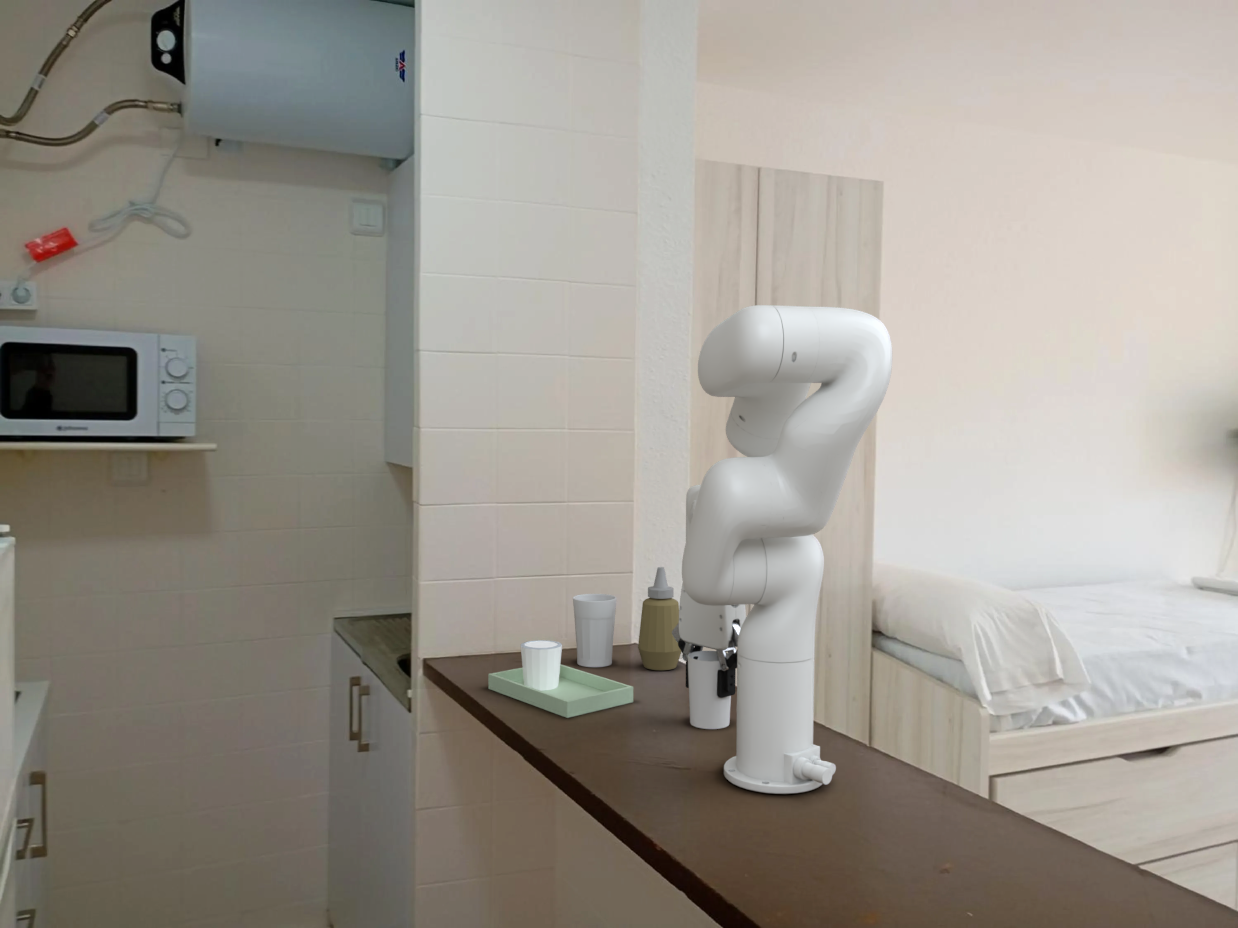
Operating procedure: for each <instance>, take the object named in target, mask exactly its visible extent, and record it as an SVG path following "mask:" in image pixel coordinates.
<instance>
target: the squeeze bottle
mask: <svg viewBox="0 0 1238 928" xmlns="http://www.w3.org/2000/svg"><path fill="white" fill-rule="evenodd" d="M674 590H675V589H674V587H672V586H669V585H668V579H667V576H666V569H665V567H664V566H658V567H657V568H656V574H655V579H654V582H653V585H652V586H648V587H647V597H648V598H645V599H644V600H643V601H642V605H641V606H642V607H641V617H640V623H639V624H640V626H639V635H638V645H637V649H638V653H639V655H640V659H641V662H642V666H643V667H644V668H645V669H648V670H652V671H669V670H673V669H676V668H677V666H678V663H679V660H680V658H681V656H682V655H681V654H682V651H681V650H680V648H679V646H678V643H677V641H676V640H675V638H674V637H673V635H672V631H673V629H674V628H675V627H676V625H677V624H678V623H679V605H680V602H679V601H678V600H677V599H675V598H674V594H675V593H674Z"/></svg>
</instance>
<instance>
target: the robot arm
mask: <svg viewBox="0 0 1238 928" xmlns="http://www.w3.org/2000/svg"><path fill="white" fill-rule="evenodd" d="M892 370H893V344H892V340H891V335H890V332H889V330H888V329H887V327H886V325H885V323H884V322H882V321H881V319H879V318H878V317H876V316H874V315H873V314H870V313H869V312H866V311H862V310H860V309H859V310H858V309H853V308H847V307H840V306H839V307H837V306H809V305H808V306H807V305H806V306H803V305H802V306H801V305H771V304H756V305H749V306H746V307H742V308H741V309H739V310H737V311H736V312H734V313H733V314H731V315H730V316H728V317H727V318H726V319H724V320H723V321H722V322H720V323H719V324H717V325H716V326H715V327H714V328H713V329H712V330H711V331H710V332H709V333H708V335H707V337H706V338H705V339H704V342H703V343H702V346H701V348H700V351H699V355H698V360H697V376H698V381H699V384H700V387H701V388H702V390H703V391H704V392H705V394H707V395H709V396H711V397H716V398H733V402H732V405H731V408H730V411H729V415H728V417H727V420H726V424H725V435H726V438H727V440H728V442H729V444H730V445H731V446H732V447H733V448H734V449H735V450H736V451H737V452H739V453H740V454H741V455H743V456H740V457H739V456H738V457H737V456H735V457H728V458H723V459H721V460H718V461H716V462H715V463H714V464H713V465H712V466H710V468H709V469H708V470H707V471H706V473H705V474H704V476H703V479H702V481H701V484H696V485H692V486H690V487H689V488H688V489H687V492H686V494H685V495H686V496H685V545H684V549H683V552H682V553H683V554H682V558H681V559H682V560H681V580H682V582H681V583H682V584H681V589H680V590H681V591H680V597H679V623H678V624H677V625H676V627H675V628H674V629H673V631H672V635H673V637H674V638H675V640H676V641H677V643H678V646H679V648H680V650H681V651H682V652H681V654H682V655H681V658H682V660H683V661H684V662H685V688H686V689H689V679H688V654H690V653H692V652H697V651H704V648H706V649H710V650H714V651H717V655H718V659H719V663H720V667H721V670H718V672H717V696H718V697H720V698H724V697H727V696H731V697H732V696H734V695H735V694H736V743H735V745H736V750H735V751H736V752H735V753H736V754H735V756H732V757H730V758H729V759H728V760H726V761H725V762H724V764H723V776H724V778H725V779H726V780H728V782H729V783H731V784H732V785H734V786H737V787H739V788H741V789H745V790H748V791H751V792H756V793H763V794H773V795H791V794H792V795H793V794H801V793H806V792H810V791H813V790H816V789H818V788H819V787H821V786H822V785H829V784H830V783H831V782H832V779H833V776H834V774H835V773H836V770H837V766H836V764H835V763H833V762H829V761H826V760H822V759H821V746H820V745H816V744H814V717H815V716H814V711H815V704H814V703H815V654H816V653H815V648H816V647H815V645H816V644H815V643H816V641H815V640H816V621H817V611H818V605H819V604H818V603H819V598H820V592H821V587H822V583H823V578H824V571H825V557H824V556H825V555H824V550H823V548H822V545H821V543H820V541H819V539H818V538H817V537H816V536H815V534H817V533H819V532H820V531H822V530H823V529H824V528H825V527H826V526H827V524H828V522H829V521H830V519H831V517H832V515H833V513H834V510H835V508H836V504H837V503H838V499H839V496H840V494H841V491H842V488H843V486H844V483H845V481H846V477H847V475H848V472H849V469H850V467H851V464H852V460H853V458H854V454H855V452H856V450H857V447H858V445H859V443H860V442H861V440H862V438H863V436H864V434H865V433H866V431H867V430H868V428H869V426H870V424H871V423H872V421H873V419H874V418H875V417H876V415H877V413H878V411H879V409H880V407H881V405H882V403H883V401H884V399H885V397H886V394H887V391H888V388H889V385H890V382H891V376H892ZM812 384H820V386H819V388H818V389H817V390H815V392H813V393H812V394H811V395H810V396H808V394H809V391H810V388H811V385H812ZM807 396H808V397H807ZM746 605H752V607H751V609H750V611H749V612H748V614H747V610H746V609H747V608H746ZM736 648H737V649H736ZM726 653H728V654H729V658H728V659H727V656H726ZM693 659H696V660H697V659H698V656H694V657H693Z"/></svg>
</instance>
